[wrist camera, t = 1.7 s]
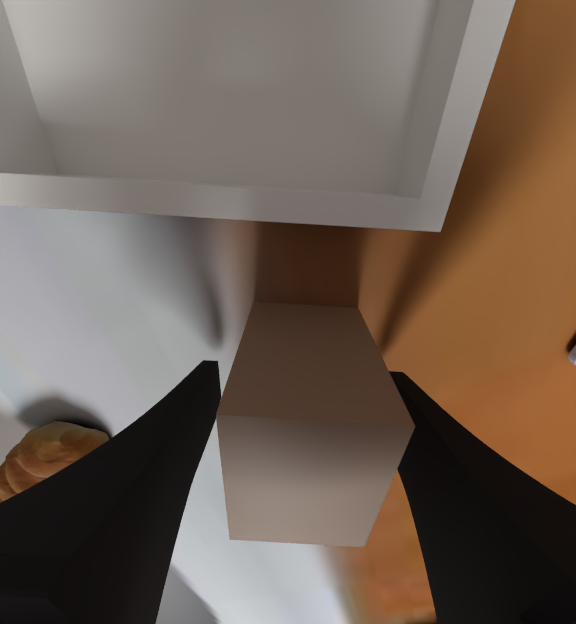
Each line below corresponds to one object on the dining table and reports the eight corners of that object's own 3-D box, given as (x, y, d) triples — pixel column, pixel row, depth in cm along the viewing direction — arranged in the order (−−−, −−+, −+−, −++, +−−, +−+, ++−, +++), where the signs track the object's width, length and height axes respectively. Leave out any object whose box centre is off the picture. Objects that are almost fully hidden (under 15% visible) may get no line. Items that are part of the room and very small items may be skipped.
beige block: (357, 306, 11) (415, 426, 6) (337, 405, 14) (364, 547, 9) (254, 300, 11) (215, 414, 6) (254, 400, 14) (229, 539, 9)
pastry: (22, 394, 14) (-61, 461, 11) (143, 430, 16) (102, 500, 12) (24, 479, 18) (-36, 548, 15) (120, 502, 20) (85, 570, 16)
